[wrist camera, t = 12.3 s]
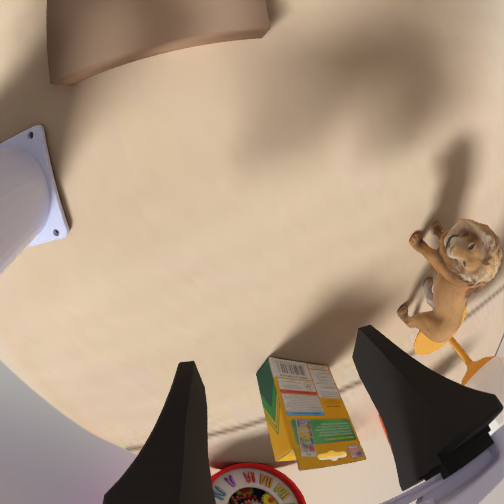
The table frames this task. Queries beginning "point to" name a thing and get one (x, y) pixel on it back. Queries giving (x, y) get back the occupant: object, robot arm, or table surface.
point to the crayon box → (306, 415)
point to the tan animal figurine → (454, 275)
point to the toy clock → (254, 486)
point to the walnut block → (140, 31)
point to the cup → (473, 371)
